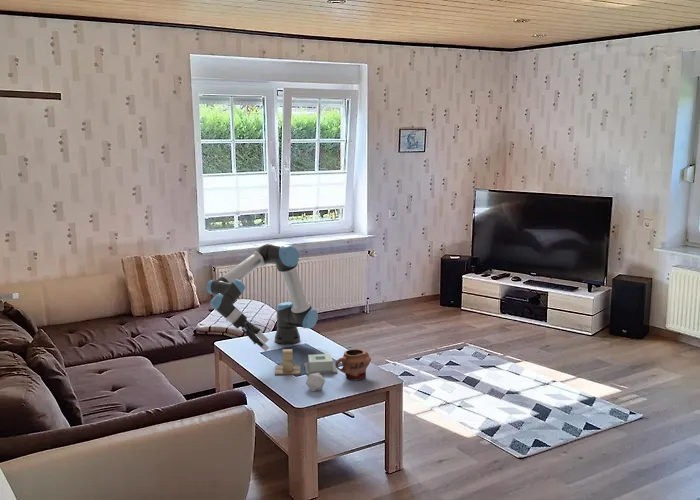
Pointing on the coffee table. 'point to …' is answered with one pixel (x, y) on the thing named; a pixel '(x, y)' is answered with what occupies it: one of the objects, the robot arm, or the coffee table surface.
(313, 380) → the die
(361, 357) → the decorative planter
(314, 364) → the square socket base
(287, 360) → the wooden t-shaped block
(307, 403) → the coffee table surface
